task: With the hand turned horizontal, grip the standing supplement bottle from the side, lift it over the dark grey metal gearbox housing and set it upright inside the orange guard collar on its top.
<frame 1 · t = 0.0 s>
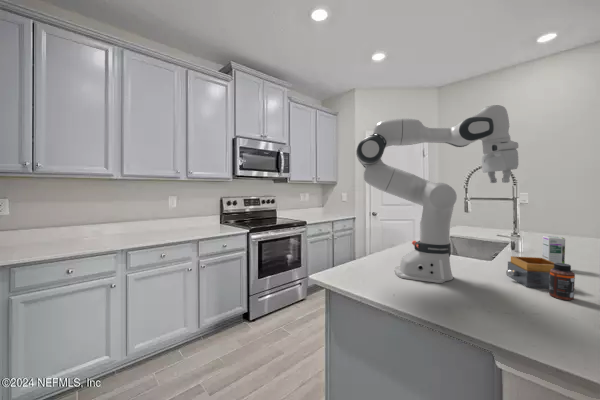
hand: (499, 182, 102), 39 cm above the counter, tool pointing down, fingers open, 8 cm apart
syrup box: (552, 268, 118), on the counter
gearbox: (534, 282, 101), on the counter
supplement bottle: (561, 297, 87), on the counter
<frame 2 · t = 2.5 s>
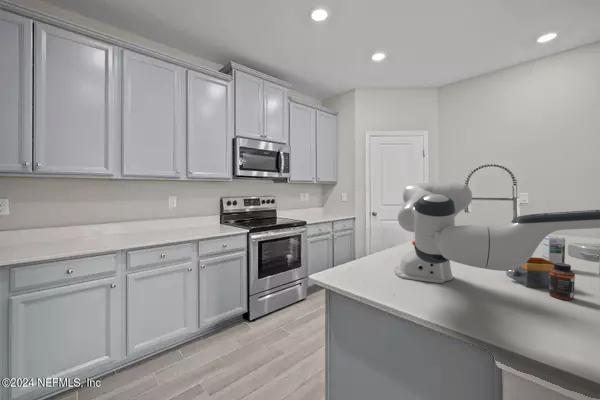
hand: (595, 246, 75), 20 cm above the counter, tool horizontal, fingers open, 8 cm apart
nothing on the counter moved.
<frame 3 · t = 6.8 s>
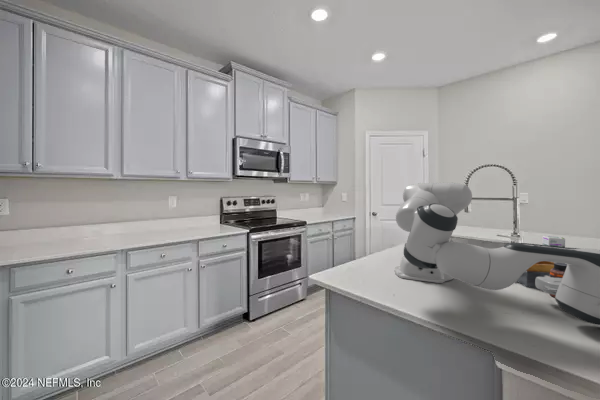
hand: (559, 278, 88), 6 cm above the counter, tool horizontal, fingers closed on supplement bottle, 6 cm apart
supplement bottle: (561, 297, 87), on the counter, touching gripper
everything else where it was.
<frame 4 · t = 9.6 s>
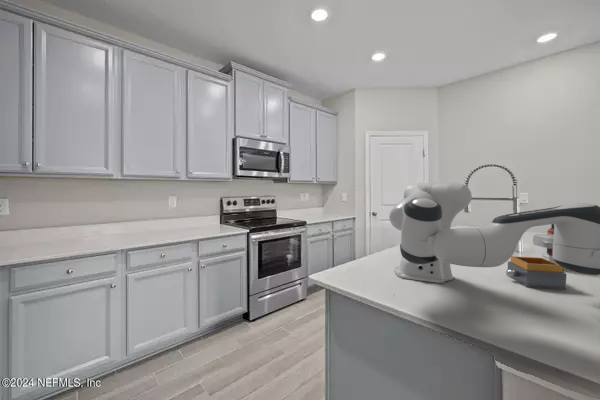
hand: (557, 237, 90), 20 cm above the counter, tool horizontal, fingers closed on supplement bottle, 6 cm apart
supplement bottle: (558, 256, 89), point 13 cm above the counter, touching gripper
everything else where it was.
when the fingers open (13 cm above the counter, at t = 12.3 s): supplement bottle stays where it is, resting on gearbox.
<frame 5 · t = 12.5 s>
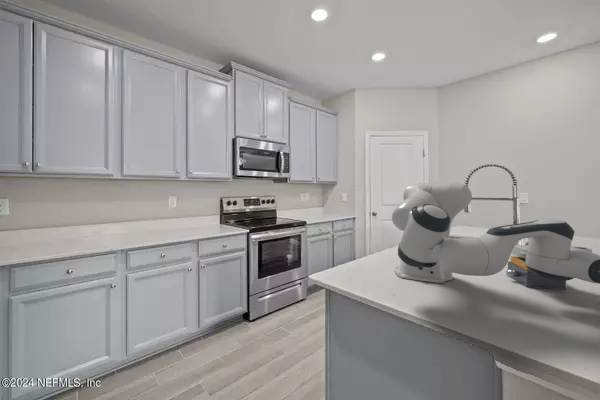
hand: (534, 247, 101), 13 cm above the counter, tool horizontal, fingers open, 7 cm apart
supplement bottle: (535, 267, 101), point 6 cm above the counter, touching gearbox
everything else where it was.
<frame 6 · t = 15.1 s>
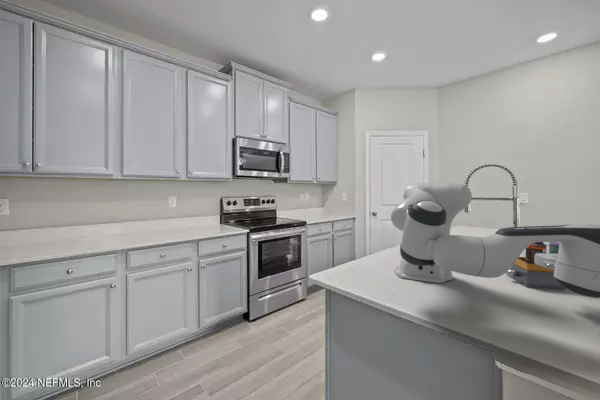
hand: (558, 256, 89), 14 cm above the counter, tool horizontal, fingers open, 8 cm apart
nothing on the counter moved.
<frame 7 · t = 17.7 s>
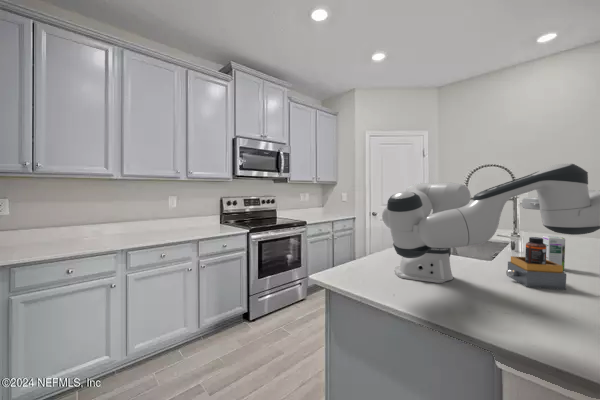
hand: (547, 202, 89), 32 cm above the counter, tool horizontal, fingers open, 8 cm apart
nothing on the counter moved.
at the end: supplement bottle 0.1 cm off-centre on the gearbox, point 6.0 cm above the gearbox's base; supplement bottle tilted 0°; the gripper is holding nothing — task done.
